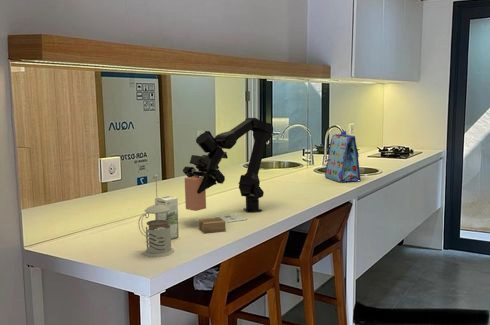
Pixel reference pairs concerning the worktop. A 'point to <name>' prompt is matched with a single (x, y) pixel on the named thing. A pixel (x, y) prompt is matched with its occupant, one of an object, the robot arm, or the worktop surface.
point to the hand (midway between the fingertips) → (192, 192)
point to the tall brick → (194, 194)
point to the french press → (157, 231)
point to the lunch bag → (343, 159)
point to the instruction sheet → (231, 218)
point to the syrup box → (169, 214)
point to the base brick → (212, 225)
